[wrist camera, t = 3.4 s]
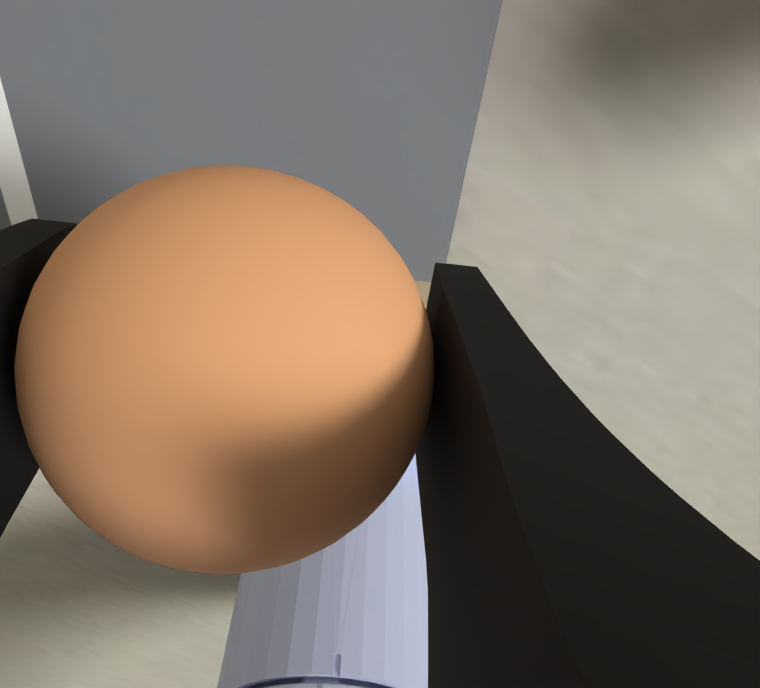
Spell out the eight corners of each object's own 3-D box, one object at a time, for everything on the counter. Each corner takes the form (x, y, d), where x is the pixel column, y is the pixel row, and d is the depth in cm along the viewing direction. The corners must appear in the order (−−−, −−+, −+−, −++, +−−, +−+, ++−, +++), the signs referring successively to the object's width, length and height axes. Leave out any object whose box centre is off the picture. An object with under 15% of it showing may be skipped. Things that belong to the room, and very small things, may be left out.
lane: (436, 293, 20) (439, 342, 18) (-304, 215, 18) (-381, 258, 17) (529, -150, 13) (551, -145, 11) (-659, -328, 11) (-864, -356, 9)
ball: (405, 387, 12) (411, 664, 8) (134, 364, 11) (2, 639, 8) (452, 123, 8) (499, 373, 5) (76, 82, 8) (-203, 311, 4)
